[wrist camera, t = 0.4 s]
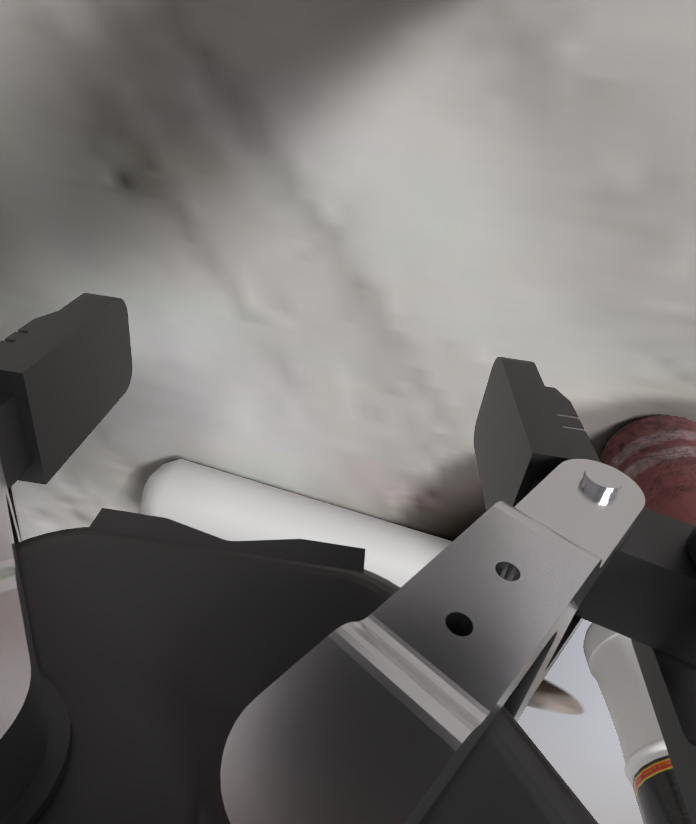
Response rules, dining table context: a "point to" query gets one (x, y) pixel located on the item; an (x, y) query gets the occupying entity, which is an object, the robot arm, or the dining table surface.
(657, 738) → the vodka
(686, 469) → the can
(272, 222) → the dining table surface
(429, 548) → the tube
